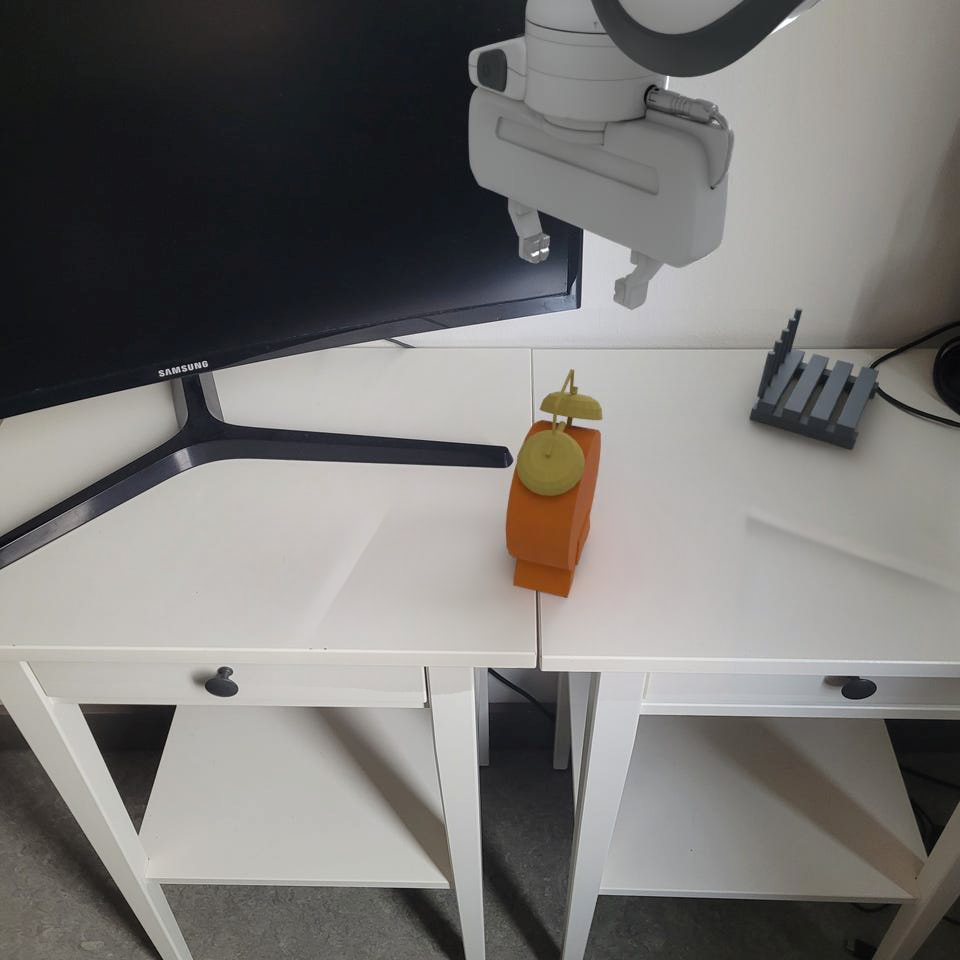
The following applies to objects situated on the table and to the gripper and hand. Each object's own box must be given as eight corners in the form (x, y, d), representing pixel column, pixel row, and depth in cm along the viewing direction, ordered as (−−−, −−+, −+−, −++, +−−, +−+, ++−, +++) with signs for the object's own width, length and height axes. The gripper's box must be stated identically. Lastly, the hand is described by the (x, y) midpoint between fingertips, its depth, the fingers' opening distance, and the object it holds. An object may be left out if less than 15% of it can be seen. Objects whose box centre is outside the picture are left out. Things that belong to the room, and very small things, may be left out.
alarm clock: (538, 506, 87) (546, 342, 74) (595, 518, 85) (613, 352, 72) (502, 595, 77) (504, 424, 64) (565, 610, 76) (581, 438, 63)
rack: (876, 391, 103) (899, 328, 97) (851, 450, 94) (875, 385, 88) (780, 366, 108) (797, 304, 102) (748, 419, 98) (764, 355, 93)
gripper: (772, 97, 45) (725, 319, 54) (520, 35, 57) (516, 226, 66) (702, 121, 42) (664, 352, 51) (451, 50, 54) (456, 248, 63)
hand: (579, 280), depth 59 cm, fingers open, 8 cm apart
